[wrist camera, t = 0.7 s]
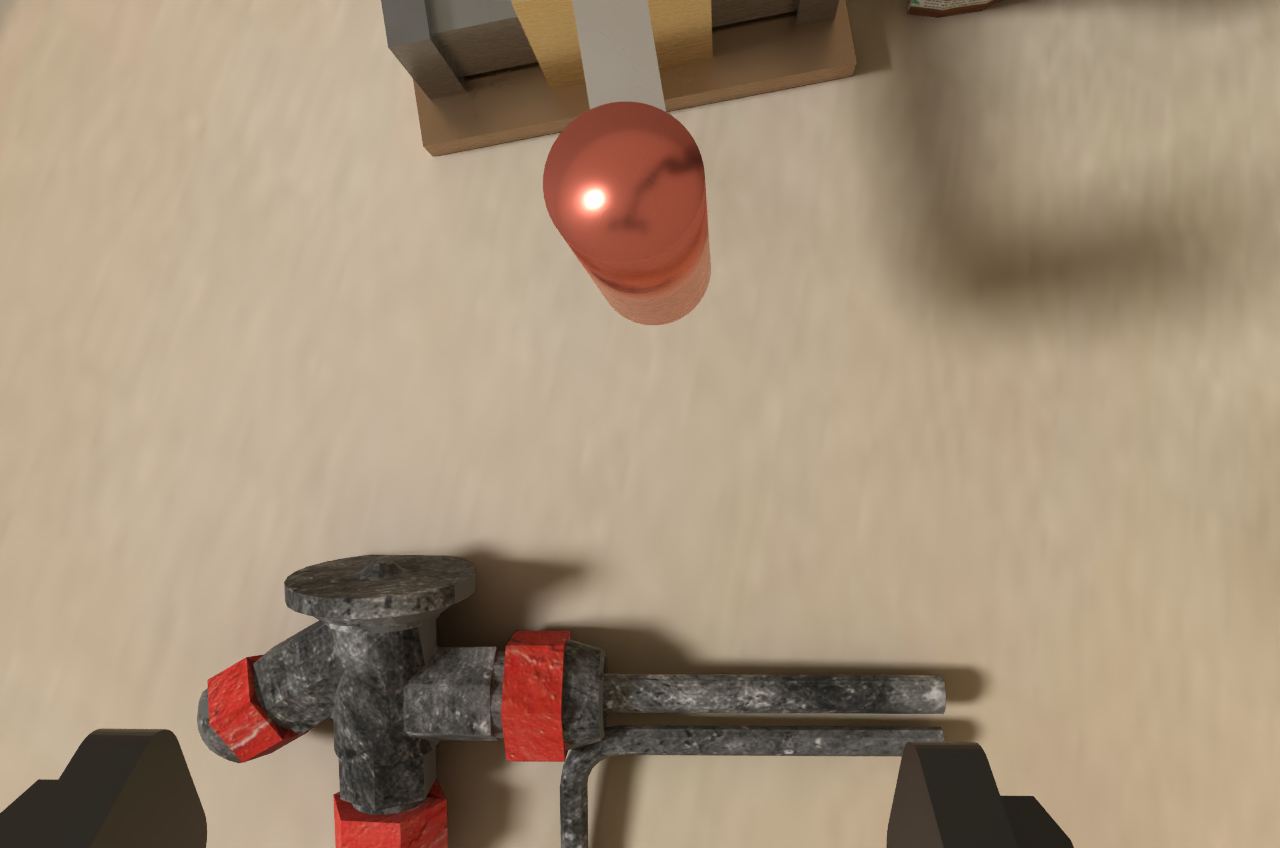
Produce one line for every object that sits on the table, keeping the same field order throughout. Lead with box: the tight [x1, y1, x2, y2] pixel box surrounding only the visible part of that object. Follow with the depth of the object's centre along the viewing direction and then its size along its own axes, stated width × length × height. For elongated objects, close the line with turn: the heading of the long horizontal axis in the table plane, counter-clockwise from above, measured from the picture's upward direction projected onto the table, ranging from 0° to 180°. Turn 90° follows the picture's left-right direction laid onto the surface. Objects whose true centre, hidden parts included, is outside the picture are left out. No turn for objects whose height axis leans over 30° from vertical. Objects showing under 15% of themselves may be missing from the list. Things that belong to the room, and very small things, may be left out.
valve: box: [197, 555, 946, 848], centre depth 35 cm, size 6×26×15 cm
